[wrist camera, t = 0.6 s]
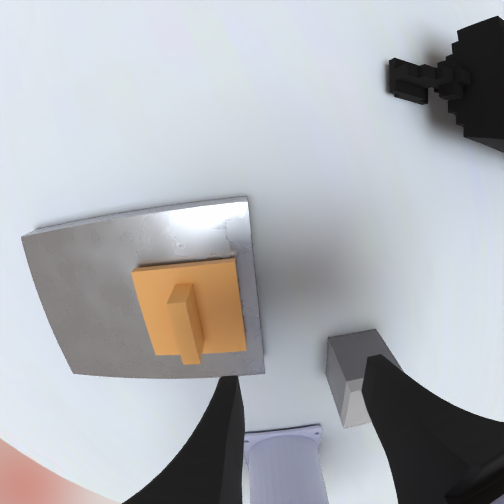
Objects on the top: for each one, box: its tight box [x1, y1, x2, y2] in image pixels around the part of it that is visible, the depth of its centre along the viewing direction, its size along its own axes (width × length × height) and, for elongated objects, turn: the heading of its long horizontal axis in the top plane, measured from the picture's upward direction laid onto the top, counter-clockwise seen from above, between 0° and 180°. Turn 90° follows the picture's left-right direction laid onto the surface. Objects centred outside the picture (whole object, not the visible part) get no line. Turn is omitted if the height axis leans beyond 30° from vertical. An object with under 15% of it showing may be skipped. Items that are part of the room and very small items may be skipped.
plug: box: [326, 329, 404, 428], centre depth 19 cm, size 4×4×6 cm
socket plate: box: [21, 196, 265, 379], centre depth 19 cm, size 12×16×2 cm
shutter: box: [131, 258, 247, 365], centre depth 16 cm, size 6×6×3 cm
